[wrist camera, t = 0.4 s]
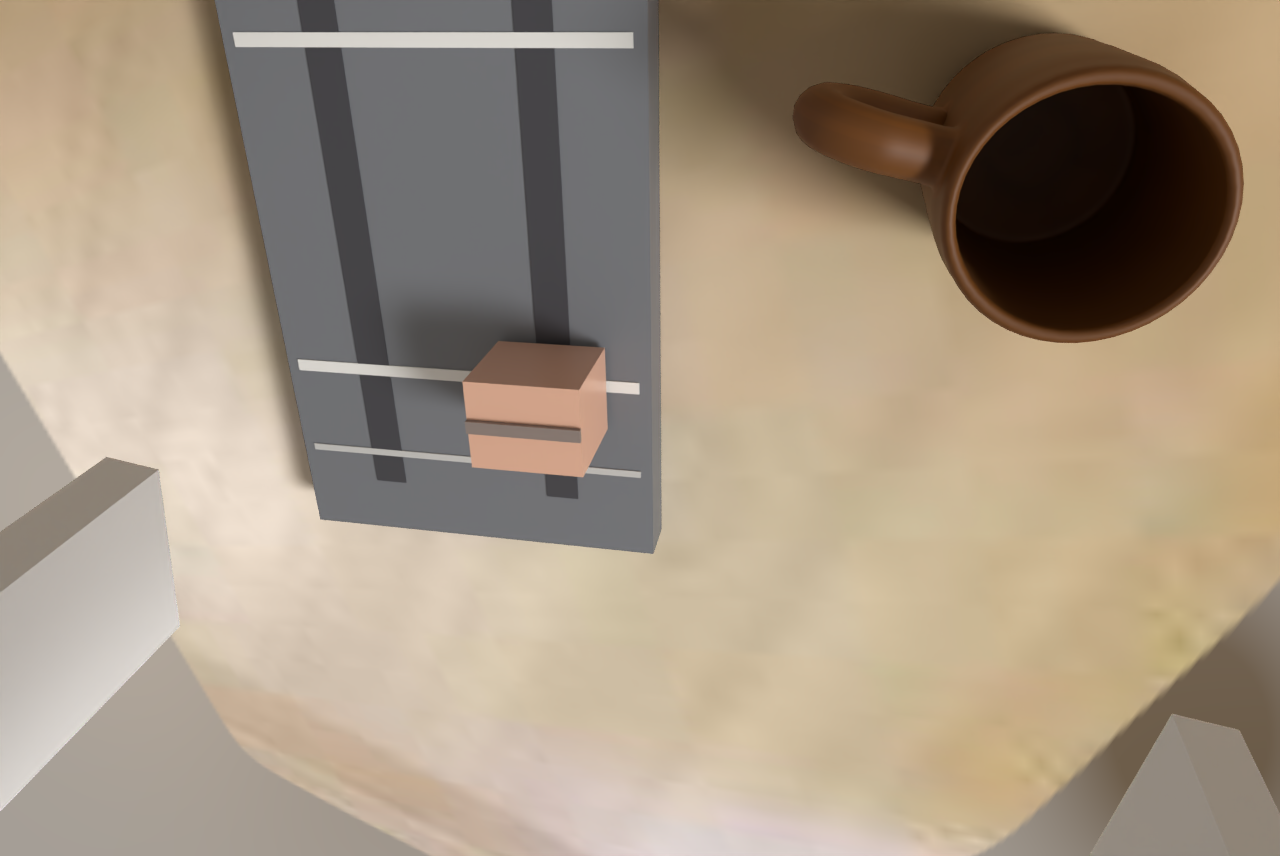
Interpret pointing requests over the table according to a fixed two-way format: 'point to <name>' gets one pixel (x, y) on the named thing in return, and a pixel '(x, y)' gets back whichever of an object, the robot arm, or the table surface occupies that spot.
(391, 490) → the console
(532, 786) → the table surface
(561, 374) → the fader
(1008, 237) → the mug
